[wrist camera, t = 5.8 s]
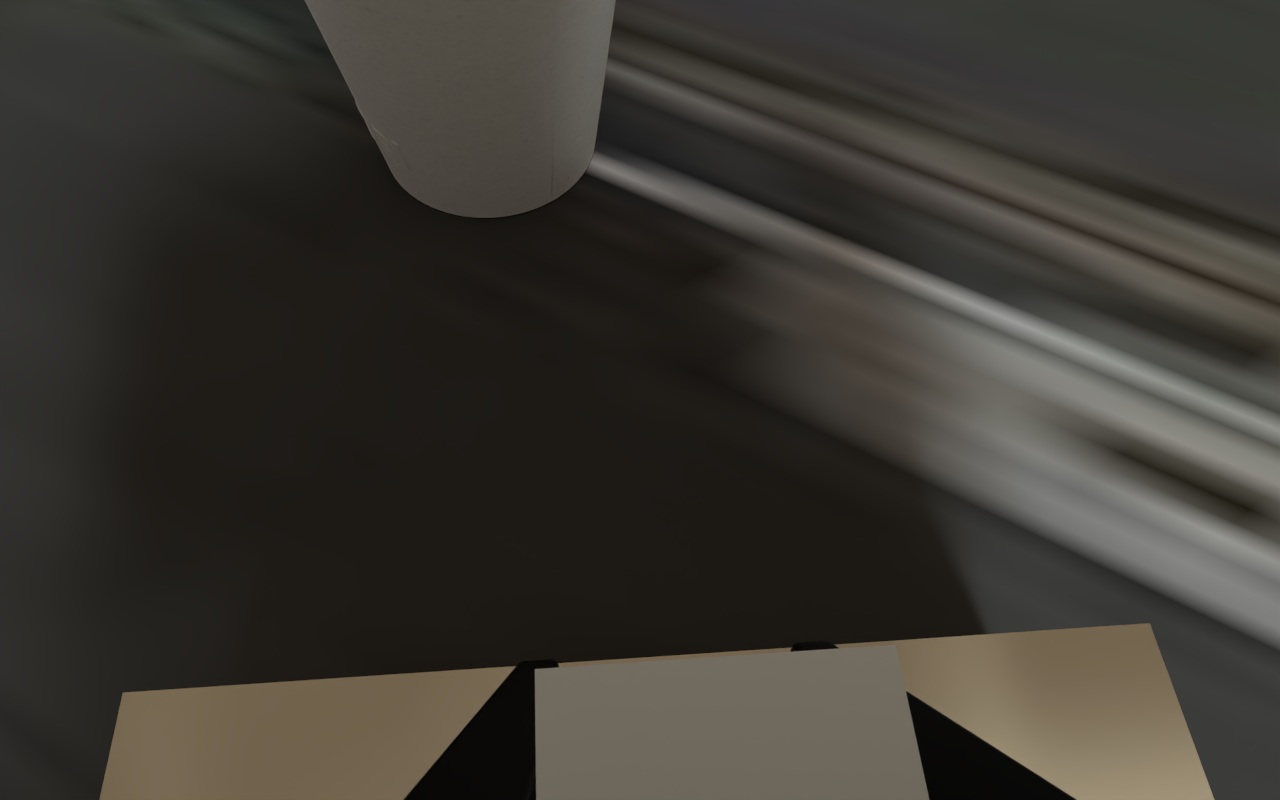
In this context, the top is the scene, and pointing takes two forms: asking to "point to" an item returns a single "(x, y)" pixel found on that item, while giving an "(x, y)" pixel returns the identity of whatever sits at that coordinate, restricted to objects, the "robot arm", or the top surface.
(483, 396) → the top surface
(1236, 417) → the top surface
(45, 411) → the top surface
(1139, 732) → the carton lid
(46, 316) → the top surface
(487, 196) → the dixie cup
